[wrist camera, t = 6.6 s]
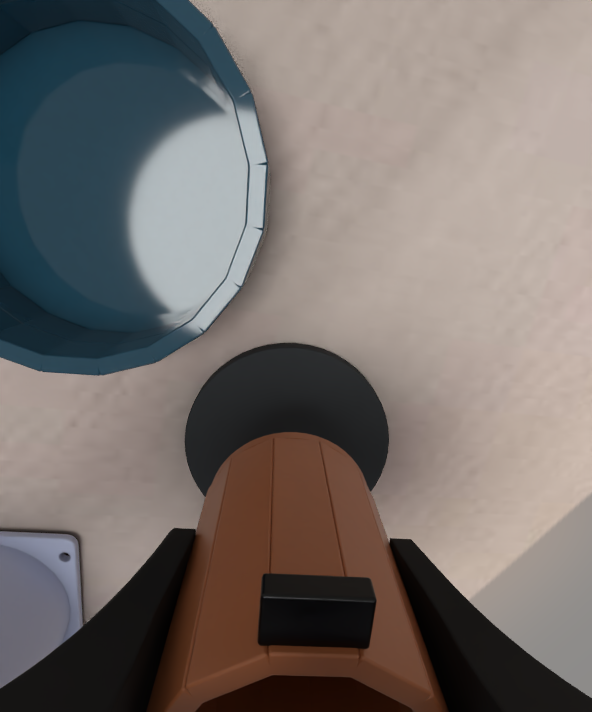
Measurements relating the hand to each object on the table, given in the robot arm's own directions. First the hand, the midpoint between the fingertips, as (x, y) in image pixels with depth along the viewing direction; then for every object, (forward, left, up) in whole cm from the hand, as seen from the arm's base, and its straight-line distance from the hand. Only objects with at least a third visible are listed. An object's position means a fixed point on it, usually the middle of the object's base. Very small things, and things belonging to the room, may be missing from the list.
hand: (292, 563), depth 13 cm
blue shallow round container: (+10, +8, -8) cm, 15 cm away
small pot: (0, 0, -3) cm, 3 cm away
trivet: (0, 0, -8) cm, 8 cm away
